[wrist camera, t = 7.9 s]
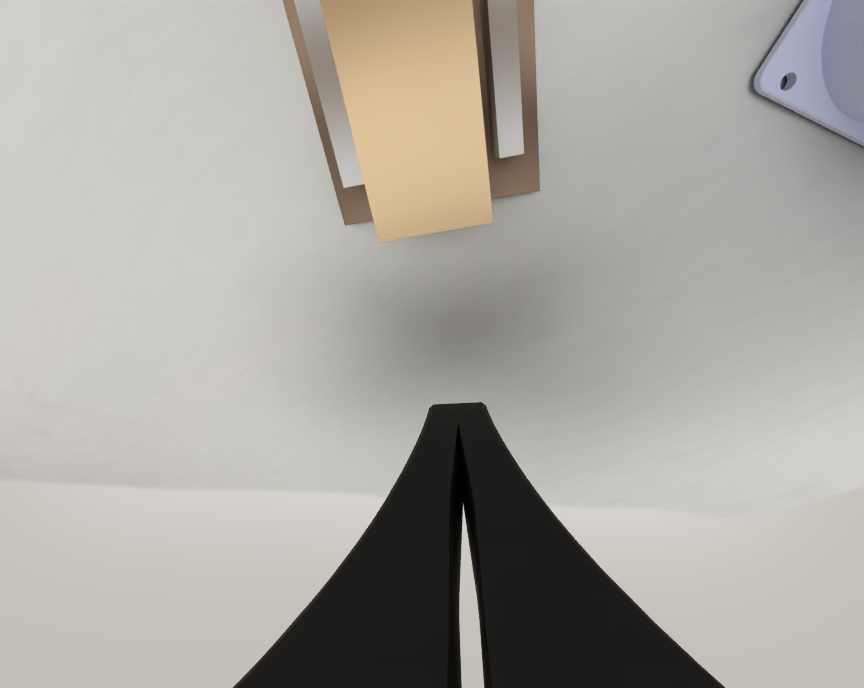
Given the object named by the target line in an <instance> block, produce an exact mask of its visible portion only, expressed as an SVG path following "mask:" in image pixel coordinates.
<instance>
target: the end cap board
mask: <svg viewBox="0 0 864 688" xmlns="http://www.w3.org/2000/svg"><path fill="white" fill-rule="evenodd" d="M283 3H284V6H285V10H286V14H287V17H288V21H289V25H290V28H291V32H292V35H293V39H294V43H295V46H296V50H297V54H298V57H299V61H300V64H301V68H302V72H303V75H304V79H305V82H306V86H307V90H308V93H309V97H310V101H311V104H312V108H313V111H314V115H315V119H316V122H317V126H318V130H319V133H320V137H321V140H322V144H323V148H324V151H325V155H326V158H327V162H328V166H329V169H330V173H331V177H332V180H333V184H334V187H335V191H336V195H337V198H338V202H339V206H340V209H341V213H342V216H343V220H344V224H345V225H351V224H356V223H362V222H367V221H373V217H372V213H371V209H370V205H369V200H368V196H367V192H366V188H365V184H364V180H363V176H362V172H361V168H360V164H359V159H358V155H357V151H356V147H355V143H354V139H353V135H352V131H351V127H350V123H349V119H348V114H347V110H346V106H345V102H344V98H343V94H342V90H341V86H340V82H339V78H338V73H337V69H336V65H335V61H334V57H333V53H332V49H331V45H330V41H329V37H328V33H327V28H326V24H325V20H324V16H323V12H322V8H321V4H320V0H283ZM472 5H473V15H474V26H475V36H476V46H477V57H478V67H479V78H480V88H481V99H482V109H483V120H484V130H485V141H486V151H487V161H488V172H489V182H490V193H491V199H496V198H502V197H508V196H513V195H519V194H524V193H530V192H536V191H540V187H539V156H538V125H537V94H536V63H535V32H534V0H472Z"/></svg>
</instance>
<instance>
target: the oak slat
mask: <svg viewBox="0 0 864 688" xmlns="http://www.w3.org/2000/svg"><path fill="white" fill-rule="evenodd" d="M320 4H321V8H322V12H323V16H324V20H325V24H326V28H327V33H328V37H329V41H330V45H331V49H332V53H333V57H334V61H335V65H336V69H337V73H338V78H339V82H340V86H341V90H342V94H343V98H344V102H345V106H346V110H347V114H348V119H349V123H350V127H351V131H352V135H353V139H354V143H355V147H356V151H357V155H358V159H359V164H360V168H361V172H362V176H363V180H364V184H365V188H366V192H367V196H368V200H369V205H370V209H371V213H372V217H373V221H374V225H375V229H376V233H377V237H378V241H379V243H381V242H386V241H392V240H398V239H403V238H409V237H415V236H420V235H426V234H432V233H438V232H443V231H449V230H455V229H460V228H466V227H472V226H477V225H483V224H489V223H493V214H492V203H491V193H490V182H489V172H488V161H487V151H486V141H485V130H484V120H483V109H482V99H481V88H480V78H479V67H478V57H477V46H476V36H475V26H474V15H473V5H472V0H320Z"/></svg>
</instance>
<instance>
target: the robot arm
mask: <svg viewBox="0 0 864 688" xmlns="http://www.w3.org/2000/svg"><path fill="white" fill-rule="evenodd" d="M785 75H786V77H787V84H786V86H785V87H784V88H783V89H782V90H781V88H780V82H781V80H782V78H783V77H784V76H785ZM754 88H755V90H756V91H757V92H758V93H759V94H761V95H763V96H765V97H767V98H769V99H771V100H773V101H775V102H777V103H779V104H781V105H783V106H785V107H787V108H789V109H791V110H793V111H795V112H796V113H798V114H800V115H802V116H804V117H806V118H808V119H810V120H812V121H814V122H816V123H818V124H820V125H822V126H824V127H826V128H828V129H830V130H832V131H834V132H836V133H838V134H840V135H842V136H844V137H846V138H848V139H850V140H852V141H854V142H856V143H858V144H860V145H862V146H864V0H804V1H803V2H802V4H801V5H800V7H799V8H798V10H797V11H796V13H795V14H794V16H793V18H792V19H791V21H790V22H789V24H788V25H787V27H786V28H785V30H784V31H783V33H782V35H781V36H780V38H779V39H778V41H777V42H776V44H775V45H774V47H773V48H772V50H771V52H770V53H769V55H768V56H767V58H766V59H765V61H764V62H763V64H762V65H761V67H760V69H759V70H758V72H757V74H756V76H755V78H754ZM463 504H464V511H465V518H466V524H467V532H468V538H469V545H470V552H471V559H472V566H473V572H474V579H475V586H476V593H477V601H478V610H479V619H480V632H481V646H482V661H483V674H484V688H725V687H724V686H723V685H722V684H721V683H719V682H718V681H717V680H716V679H715V678H714V677H713V676H712V675H711V674H709V673H708V672H707V671H706V670H705V669H704V668H703V667H701V666H700V665H699V664H698V663H697V662H696V661H695V660H694V659H693V658H692V657H691V656H690V655H689V654H688V653H687V652H686V651H684V650H683V649H682V648H681V647H680V646H679V645H678V644H677V643H676V642H675V641H674V640H673V639H672V638H671V637H669V635H667V634H666V633H665V632H664V631H663V630H662V629H661V628H660V627H659V626H658V625H657V624H656V623H654V621H653V620H651V618H649V616H648V615H647V614H646V613H645V612H644V611H643V610H642V609H641V608H640V607H639V606H638V605H637V604H636V603H635V602H634V601H633V600H632V599H631V598H630V597H629V596H628V595H627V594H626V593H625V592H624V591H623V590H622V589H621V588H620V587H619V586H618V585H617V584H616V583H615V582H614V581H613V580H612V579H611V578H610V577H609V576H608V575H607V574H606V573H605V572H604V571H603V570H602V569H601V568H600V566H599V565H598V564H597V563H596V562H595V561H594V560H593V559H592V558H591V557H590V555H589V554H588V553H587V552H586V551H585V550H584V549H583V548H582V546H581V545H580V544H579V543H578V542H577V541H576V540H575V539H574V537H573V536H572V535H571V534H570V533H569V532H568V531H567V529H566V528H565V527H564V526H563V524H562V523H561V522H560V521H559V520H558V519H557V517H556V516H555V515H554V513H553V512H552V511H551V510H550V508H549V507H548V506H547V505H546V503H545V502H544V501H543V499H542V498H541V497H540V495H539V494H538V493H537V491H536V490H535V489H534V487H533V486H532V484H531V483H530V482H529V480H528V479H527V477H526V476H525V475H524V473H523V472H522V470H521V469H520V467H519V466H518V464H517V462H516V461H515V459H514V458H513V456H512V455H511V453H510V452H509V450H508V448H507V447H506V445H505V443H504V442H503V440H502V438H501V436H500V435H499V433H498V431H497V429H496V427H495V425H494V423H493V421H492V419H491V417H490V415H489V413H488V410H487V407H486V406H485V405H484V404H483V403H482V402H478V403H457V404H436V405H432V406H431V407H430V408H429V411H428V415H427V418H426V421H425V424H424V426H423V429H422V431H421V433H420V436H419V438H418V440H417V443H416V445H415V447H414V449H413V451H412V453H411V455H410V457H409V459H408V461H407V463H406V465H405V467H404V469H403V471H402V473H401V474H400V476H399V478H398V479H397V481H396V483H395V485H394V486H393V488H392V490H391V492H390V493H389V495H388V497H387V498H386V500H385V502H384V503H383V505H382V507H381V508H380V510H379V511H378V513H377V514H376V516H375V518H374V519H373V520H372V522H371V524H370V525H369V526H368V528H367V529H366V531H365V532H364V534H363V535H362V537H361V538H360V540H359V541H358V542H357V544H356V545H355V546H354V548H353V549H352V550H351V552H350V553H349V554H348V556H347V557H346V558H345V560H344V561H343V562H342V564H341V565H340V566H339V567H338V569H337V570H336V572H335V573H334V574H333V575H332V577H331V578H330V579H329V580H328V582H327V583H326V584H325V585H324V587H323V588H322V589H321V590H320V592H319V593H318V594H317V595H316V596H315V598H314V599H313V600H312V601H311V602H310V603H309V605H308V606H307V607H306V608H305V609H304V610H303V612H302V613H301V614H300V615H299V616H298V617H297V618H296V620H295V621H294V622H293V623H292V624H291V625H290V626H289V628H288V629H287V630H286V631H285V632H284V633H283V635H282V636H281V637H280V638H279V639H278V640H277V641H276V643H275V644H274V645H273V646H272V647H271V648H270V649H269V650H268V651H267V652H266V654H265V655H264V656H263V657H262V658H261V659H260V660H259V661H258V662H257V663H256V664H255V666H253V667H252V669H251V670H250V671H249V672H248V673H247V674H246V675H245V676H244V677H243V678H242V679H241V680H240V681H239V682H238V683H237V684H236V685H235V686H234V687H233V688H462V687H461V658H460V631H459V590H460V565H461V541H462V515H463V512H462V511H463Z"/></svg>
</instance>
